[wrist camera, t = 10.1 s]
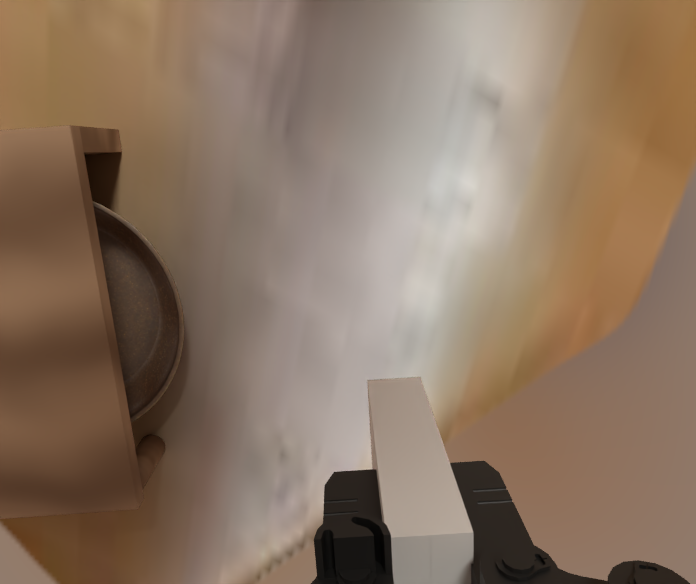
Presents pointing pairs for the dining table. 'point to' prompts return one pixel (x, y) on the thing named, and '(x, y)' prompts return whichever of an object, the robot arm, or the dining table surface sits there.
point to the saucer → (140, 310)
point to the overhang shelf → (60, 337)
